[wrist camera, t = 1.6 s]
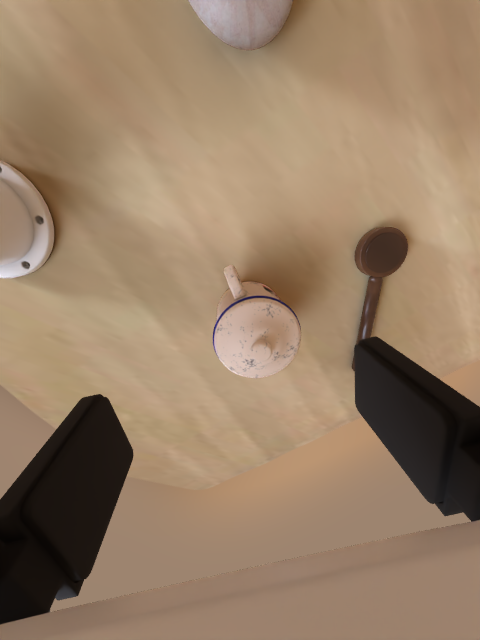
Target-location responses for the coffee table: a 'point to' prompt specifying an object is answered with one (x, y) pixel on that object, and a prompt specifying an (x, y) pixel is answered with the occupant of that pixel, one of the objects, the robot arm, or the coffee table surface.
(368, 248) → the walnut spoon
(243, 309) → the teacup with lid
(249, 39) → the decorative stone
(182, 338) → the coffee table surface
